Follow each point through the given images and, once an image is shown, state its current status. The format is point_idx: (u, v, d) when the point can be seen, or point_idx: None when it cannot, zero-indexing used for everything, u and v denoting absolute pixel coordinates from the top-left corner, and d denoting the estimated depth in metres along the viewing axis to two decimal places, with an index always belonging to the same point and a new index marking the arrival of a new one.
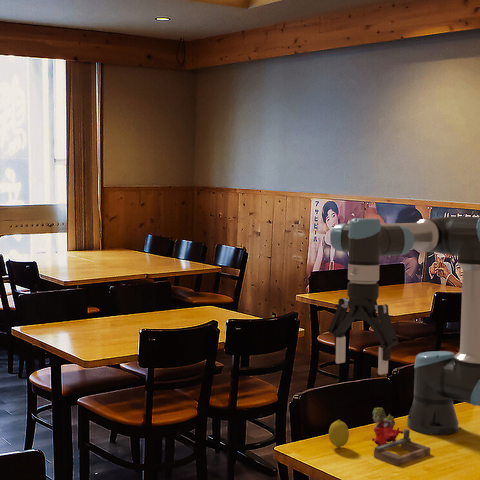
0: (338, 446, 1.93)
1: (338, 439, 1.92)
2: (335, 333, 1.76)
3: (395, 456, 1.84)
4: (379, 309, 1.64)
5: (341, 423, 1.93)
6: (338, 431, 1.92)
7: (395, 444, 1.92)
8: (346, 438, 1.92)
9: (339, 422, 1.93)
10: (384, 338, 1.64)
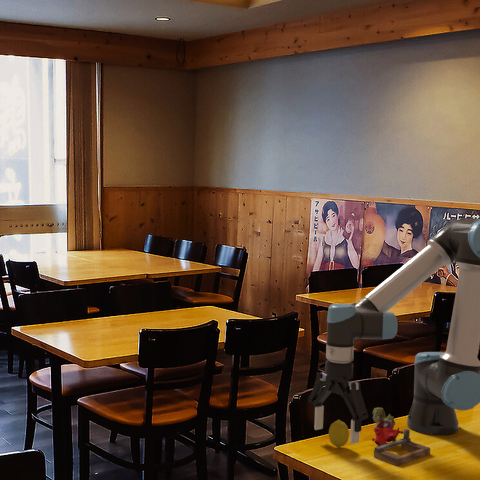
0: (338, 446, 1.93)
1: (338, 439, 1.92)
2: (314, 403, 1.99)
3: (395, 456, 1.84)
4: (352, 386, 1.88)
5: (341, 423, 1.93)
6: (338, 431, 1.92)
7: (395, 444, 1.92)
8: (346, 438, 1.92)
9: (339, 422, 1.93)
10: (356, 412, 1.88)
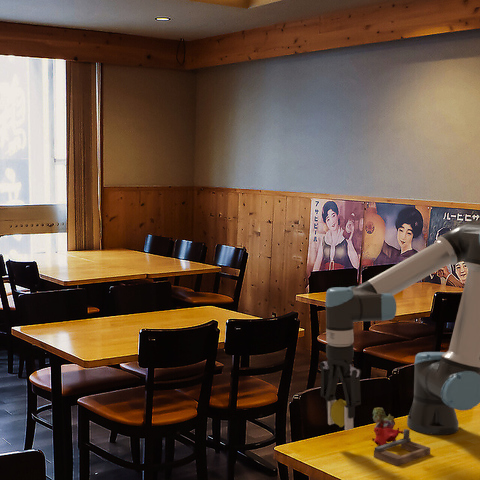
0: (340, 425, 1.93)
1: (341, 417, 1.91)
2: (326, 397, 1.96)
3: (395, 456, 1.84)
4: (353, 374, 1.88)
5: (343, 402, 1.93)
6: (340, 410, 1.92)
7: (395, 444, 1.92)
8: None
9: (341, 401, 1.93)
10: (350, 399, 1.90)
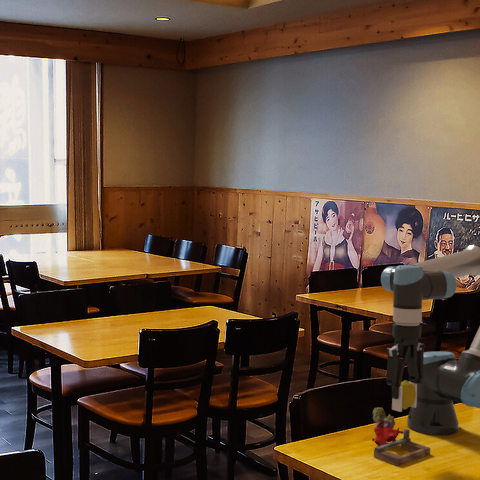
0: None
1: None
2: None
3: (395, 456, 1.84)
4: None
5: (402, 383, 1.87)
6: None
7: (395, 444, 1.92)
8: None
9: None
10: None
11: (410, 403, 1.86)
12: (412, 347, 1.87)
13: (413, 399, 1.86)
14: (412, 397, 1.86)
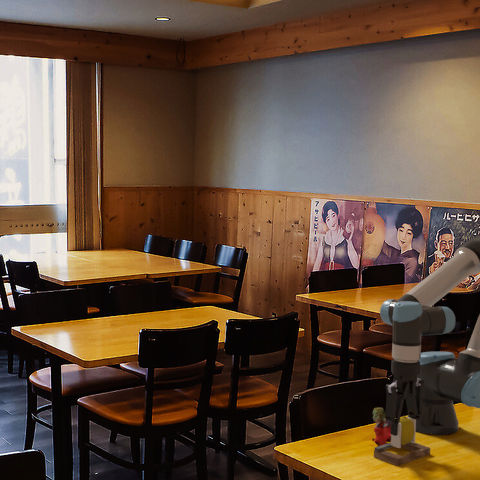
0: None
1: None
2: None
3: (395, 456, 1.84)
4: None
5: (401, 419, 1.88)
6: None
7: None
8: None
9: (401, 417, 1.88)
10: None
11: (409, 439, 1.87)
12: (411, 383, 1.87)
13: (412, 435, 1.87)
14: (411, 434, 1.86)
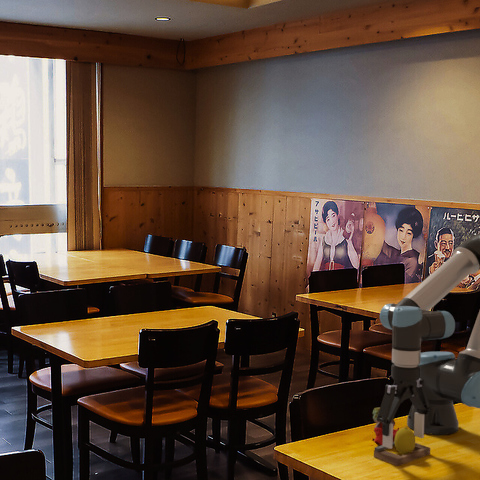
0: None
1: (394, 442, 1.89)
2: None
3: (395, 456, 1.84)
4: None
5: (402, 429, 1.88)
6: None
7: None
8: (399, 445, 1.87)
9: (402, 428, 1.89)
10: None
11: (410, 450, 1.87)
12: (411, 389, 1.87)
13: (413, 446, 1.87)
14: (411, 445, 1.87)
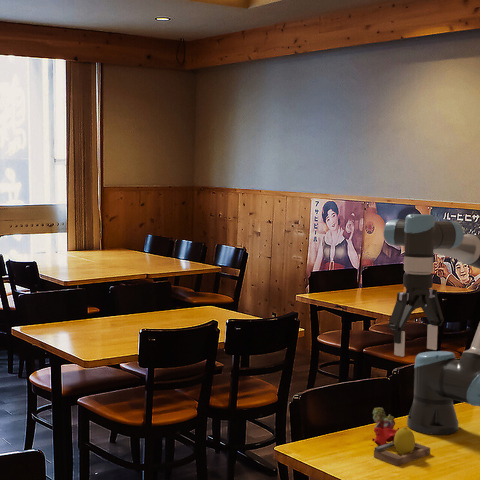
0: None
1: (394, 442, 1.89)
2: None
3: (395, 456, 1.84)
4: None
5: (401, 430, 1.88)
6: (395, 435, 1.89)
7: None
8: (398, 445, 1.87)
9: (402, 428, 1.89)
10: None
11: (409, 450, 1.87)
12: (423, 298, 1.84)
13: (412, 446, 1.87)
14: (411, 445, 1.87)
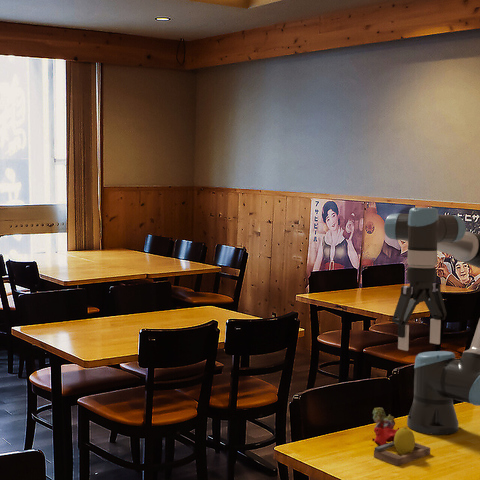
0: None
1: (394, 442, 1.89)
2: None
3: (395, 456, 1.84)
4: None
5: (401, 429, 1.88)
6: (395, 434, 1.89)
7: None
8: (398, 445, 1.87)
9: (402, 428, 1.89)
10: None
11: (409, 450, 1.87)
12: (427, 291, 1.83)
13: (412, 446, 1.87)
14: (411, 444, 1.87)
